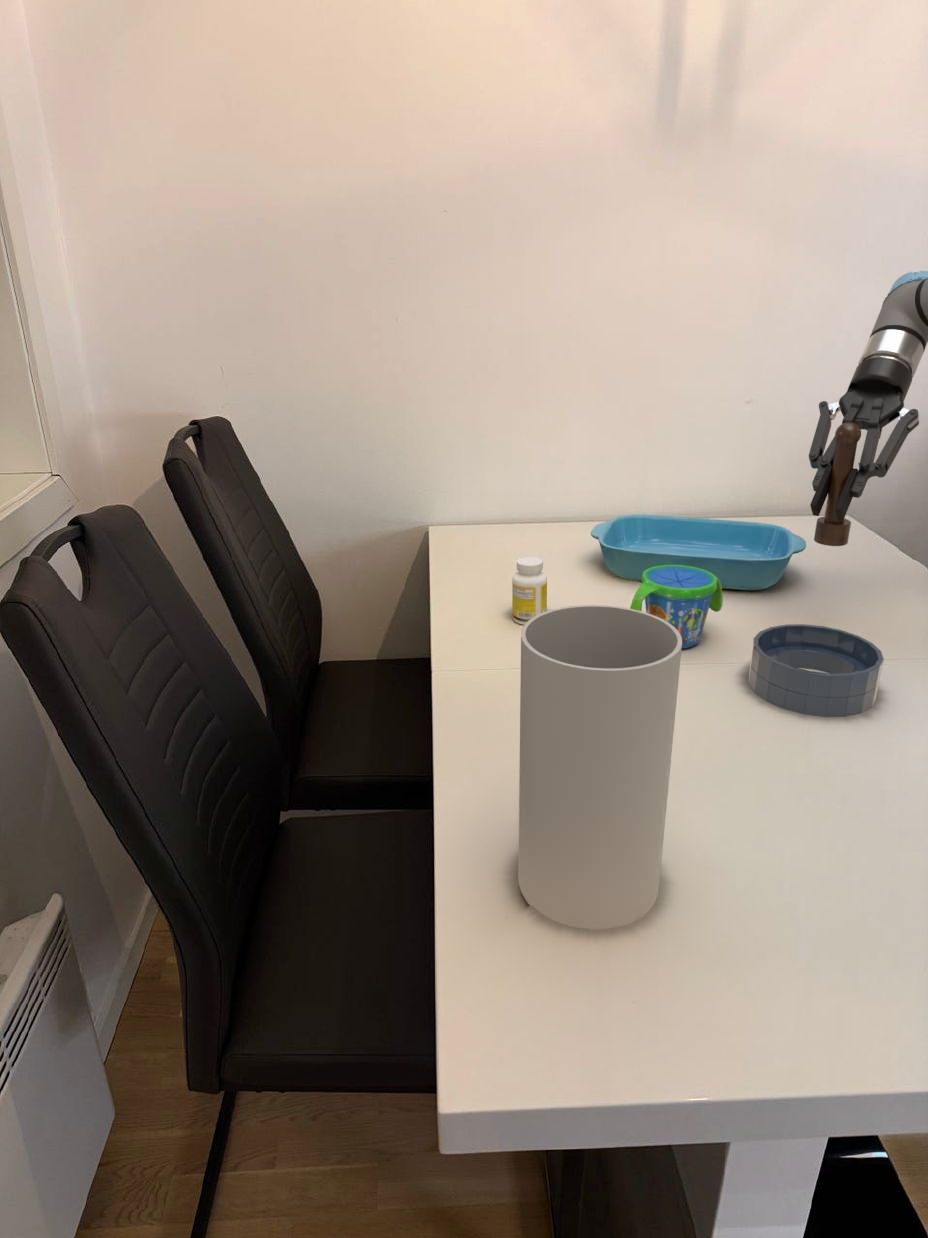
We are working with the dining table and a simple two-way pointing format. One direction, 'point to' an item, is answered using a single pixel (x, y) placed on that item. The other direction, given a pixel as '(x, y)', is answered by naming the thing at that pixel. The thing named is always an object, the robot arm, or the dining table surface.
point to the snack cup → (680, 598)
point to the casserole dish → (698, 548)
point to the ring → (821, 649)
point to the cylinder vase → (595, 761)
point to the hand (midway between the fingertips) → (826, 512)
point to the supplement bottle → (528, 590)
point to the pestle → (838, 487)
